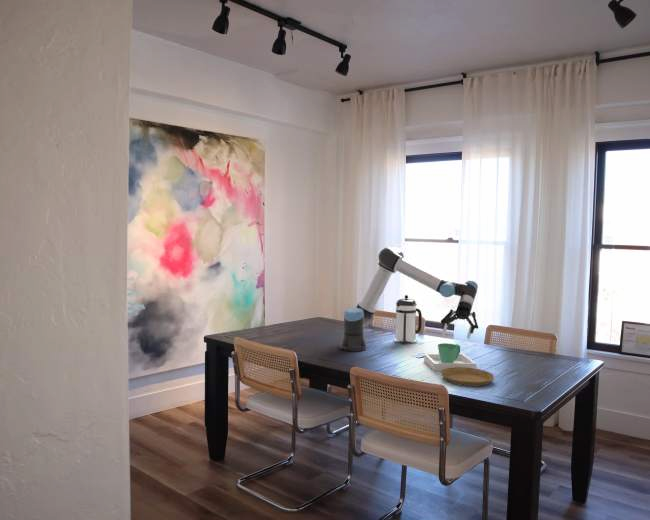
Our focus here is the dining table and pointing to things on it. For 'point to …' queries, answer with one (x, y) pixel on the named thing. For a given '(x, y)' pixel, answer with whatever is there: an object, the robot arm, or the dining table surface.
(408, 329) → the coffee press
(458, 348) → the mug
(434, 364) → the tray
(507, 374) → the dining table surface
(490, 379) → the plant saucer
